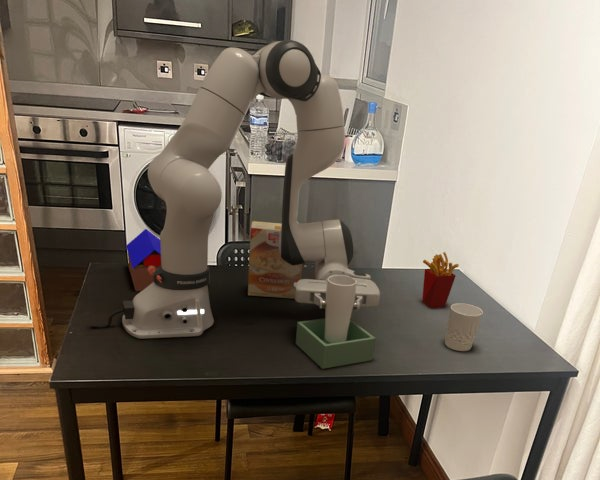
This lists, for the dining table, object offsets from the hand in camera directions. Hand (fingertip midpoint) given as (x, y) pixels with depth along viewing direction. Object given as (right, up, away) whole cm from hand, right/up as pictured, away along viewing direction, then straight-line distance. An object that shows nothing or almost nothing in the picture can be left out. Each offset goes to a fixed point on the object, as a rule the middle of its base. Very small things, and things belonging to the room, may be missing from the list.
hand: (339, 306), depth 137 cm
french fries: (+29, +7, +40) cm, 50 cm away
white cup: (+31, -8, +16) cm, 36 cm away
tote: (-1, -10, +7) cm, 12 cm away
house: (-53, +14, +39) cm, 67 cm away
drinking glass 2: (-1, -7, +6) cm, 9 cm away
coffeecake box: (-17, +9, +36) cm, 41 cm away
